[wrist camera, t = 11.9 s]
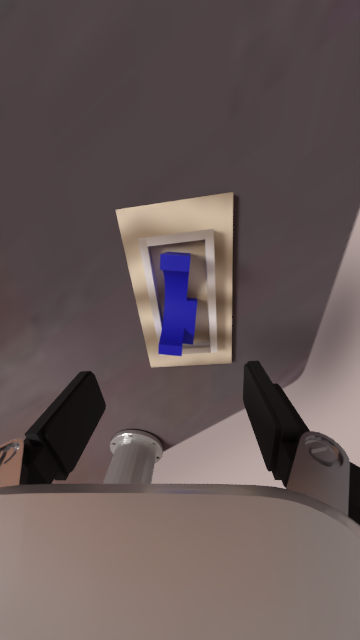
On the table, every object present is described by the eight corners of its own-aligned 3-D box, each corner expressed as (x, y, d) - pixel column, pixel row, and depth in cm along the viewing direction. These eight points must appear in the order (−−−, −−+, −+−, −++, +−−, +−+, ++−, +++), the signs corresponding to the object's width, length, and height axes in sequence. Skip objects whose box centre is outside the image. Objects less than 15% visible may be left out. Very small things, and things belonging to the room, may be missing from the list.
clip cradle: (230, 360, 30) (233, 369, 28) (152, 364, 31) (149, 373, 29) (231, 194, 20) (236, 188, 18) (118, 210, 21) (109, 207, 19)
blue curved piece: (192, 334, 27) (193, 357, 22) (164, 331, 27) (158, 354, 22) (202, 254, 22) (205, 257, 17) (167, 251, 22) (160, 254, 17)
